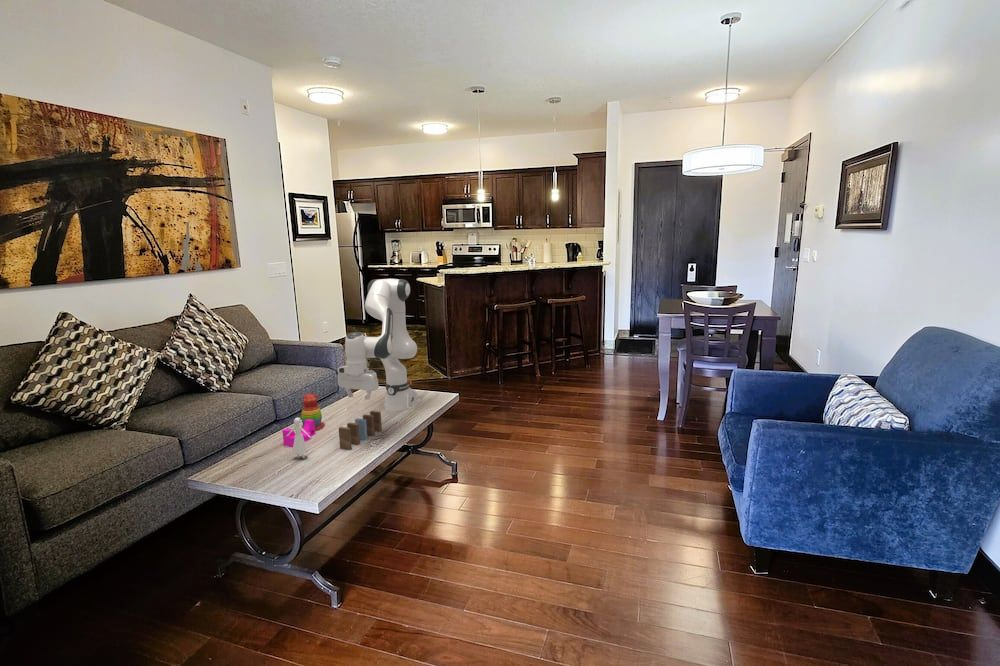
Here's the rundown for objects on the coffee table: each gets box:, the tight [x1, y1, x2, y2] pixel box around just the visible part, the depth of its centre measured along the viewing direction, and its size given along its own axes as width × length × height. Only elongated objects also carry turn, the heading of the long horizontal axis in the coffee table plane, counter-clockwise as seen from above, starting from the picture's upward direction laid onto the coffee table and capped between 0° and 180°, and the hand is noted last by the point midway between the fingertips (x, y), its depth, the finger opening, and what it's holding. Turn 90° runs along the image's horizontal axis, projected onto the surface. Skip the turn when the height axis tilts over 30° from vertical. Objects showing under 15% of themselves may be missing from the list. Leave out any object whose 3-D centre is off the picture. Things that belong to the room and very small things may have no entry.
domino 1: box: [338, 426, 353, 451], centre depth 208 cm, size 2×5×10 cm, turn 68°
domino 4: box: [362, 414, 376, 437], centre depth 223 cm, size 2×5×10 cm, turn 68°
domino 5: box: [369, 410, 383, 433], centre depth 228 cm, size 2×5×10 cm, turn 68°
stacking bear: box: [300, 393, 326, 432], centre depth 232 cm, size 11×10×18 cm
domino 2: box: [346, 422, 361, 446], centre depth 213 cm, size 2×5×10 cm, turn 68°
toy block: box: [281, 419, 316, 448], centre depth 219 cm, size 15×6×8 cm, turn 155°
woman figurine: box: [286, 417, 311, 459], centre depth 199 cm, size 12×4×18 cm, turn 79°
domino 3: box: [354, 418, 368, 441], centre depth 218 cm, size 2×5×10 cm, turn 68°
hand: (359, 398), depth 216 cm, fingers open, 8 cm apart
